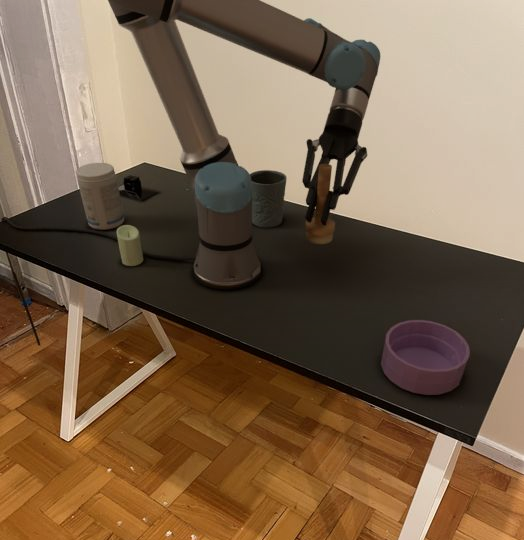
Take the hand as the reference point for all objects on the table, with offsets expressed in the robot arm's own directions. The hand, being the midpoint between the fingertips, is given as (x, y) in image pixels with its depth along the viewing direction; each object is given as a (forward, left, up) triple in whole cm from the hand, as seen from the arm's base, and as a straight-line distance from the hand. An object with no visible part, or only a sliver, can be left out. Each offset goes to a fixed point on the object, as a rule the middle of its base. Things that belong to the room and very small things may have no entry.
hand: (315, 221), depth 109 cm
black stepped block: (-68, +14, -14) cm, 71 cm away
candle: (-40, -16, -14) cm, 45 cm away
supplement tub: (-60, -5, -14) cm, 62 cm away
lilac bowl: (+31, -17, -14) cm, 38 cm away
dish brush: (-1, +4, -6) cm, 7 cm away
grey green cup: (-25, +20, -14) cm, 35 cm away
